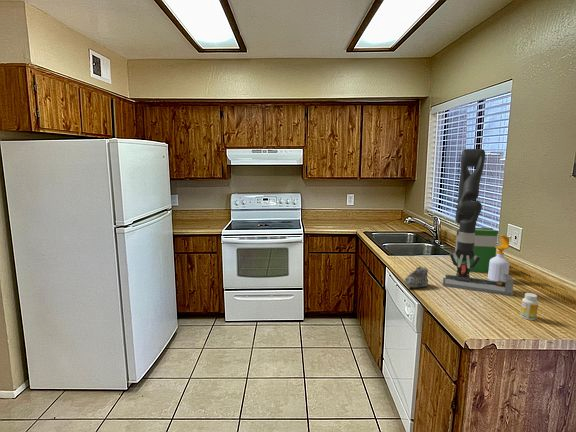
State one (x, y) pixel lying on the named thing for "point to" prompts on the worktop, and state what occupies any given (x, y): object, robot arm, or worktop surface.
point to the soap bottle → (499, 262)
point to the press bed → (482, 284)
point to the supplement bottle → (529, 306)
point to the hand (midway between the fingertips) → (462, 274)
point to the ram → (463, 273)
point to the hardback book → (483, 248)
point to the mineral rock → (417, 278)
